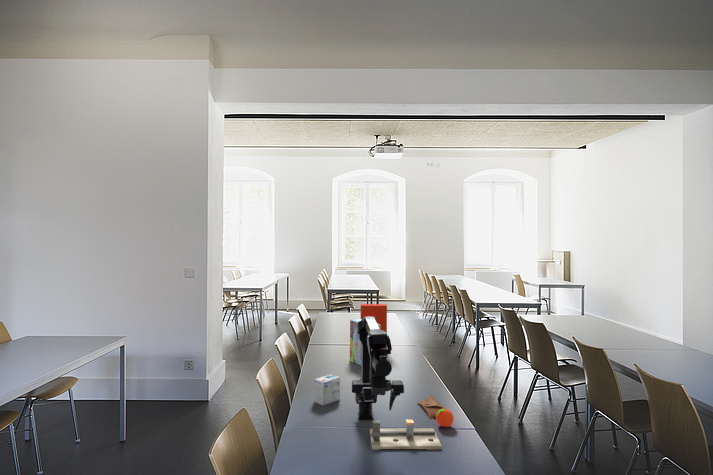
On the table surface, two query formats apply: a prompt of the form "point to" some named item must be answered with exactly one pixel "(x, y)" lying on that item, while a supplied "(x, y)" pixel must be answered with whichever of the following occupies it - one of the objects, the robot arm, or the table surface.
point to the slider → (409, 429)
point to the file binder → (376, 313)
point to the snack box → (355, 342)
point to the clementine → (444, 417)
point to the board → (402, 438)
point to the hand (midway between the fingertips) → (377, 410)
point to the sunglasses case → (430, 406)
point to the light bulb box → (327, 389)
